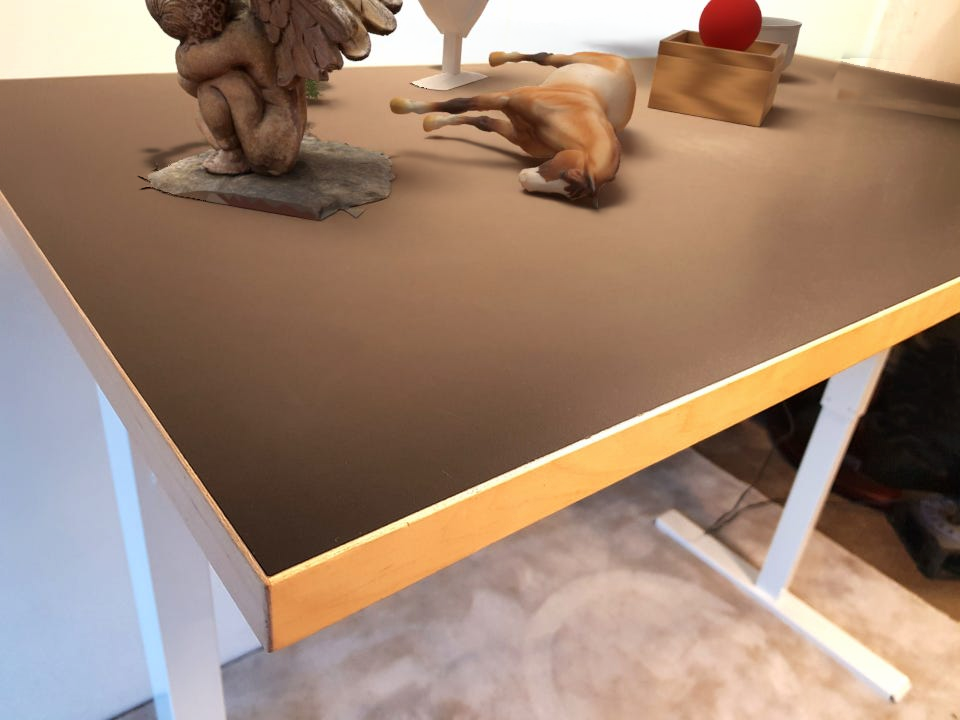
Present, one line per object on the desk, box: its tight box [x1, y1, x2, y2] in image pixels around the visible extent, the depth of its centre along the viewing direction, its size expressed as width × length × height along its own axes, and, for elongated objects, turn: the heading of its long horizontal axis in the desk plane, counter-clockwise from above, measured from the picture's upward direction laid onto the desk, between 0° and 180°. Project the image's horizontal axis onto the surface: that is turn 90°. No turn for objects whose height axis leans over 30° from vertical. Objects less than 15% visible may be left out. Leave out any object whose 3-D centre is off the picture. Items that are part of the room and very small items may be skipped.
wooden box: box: [647, 29, 788, 128], centre depth 95 cm, size 13×13×8 cm
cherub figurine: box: [144, 0, 404, 222], centre depth 58 cm, size 18×18×18 cm
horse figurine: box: [389, 51, 637, 209], centre depth 74 cm, size 31×8×21 cm
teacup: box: [756, 16, 803, 73], centre depth 119 cm, size 14×11×8 cm
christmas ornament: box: [698, 0, 763, 52], centre depth 92 cm, size 7×7×10 cm
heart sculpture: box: [411, 0, 490, 91], centre depth 94 cm, size 16×5×18 cm, turn 153°
